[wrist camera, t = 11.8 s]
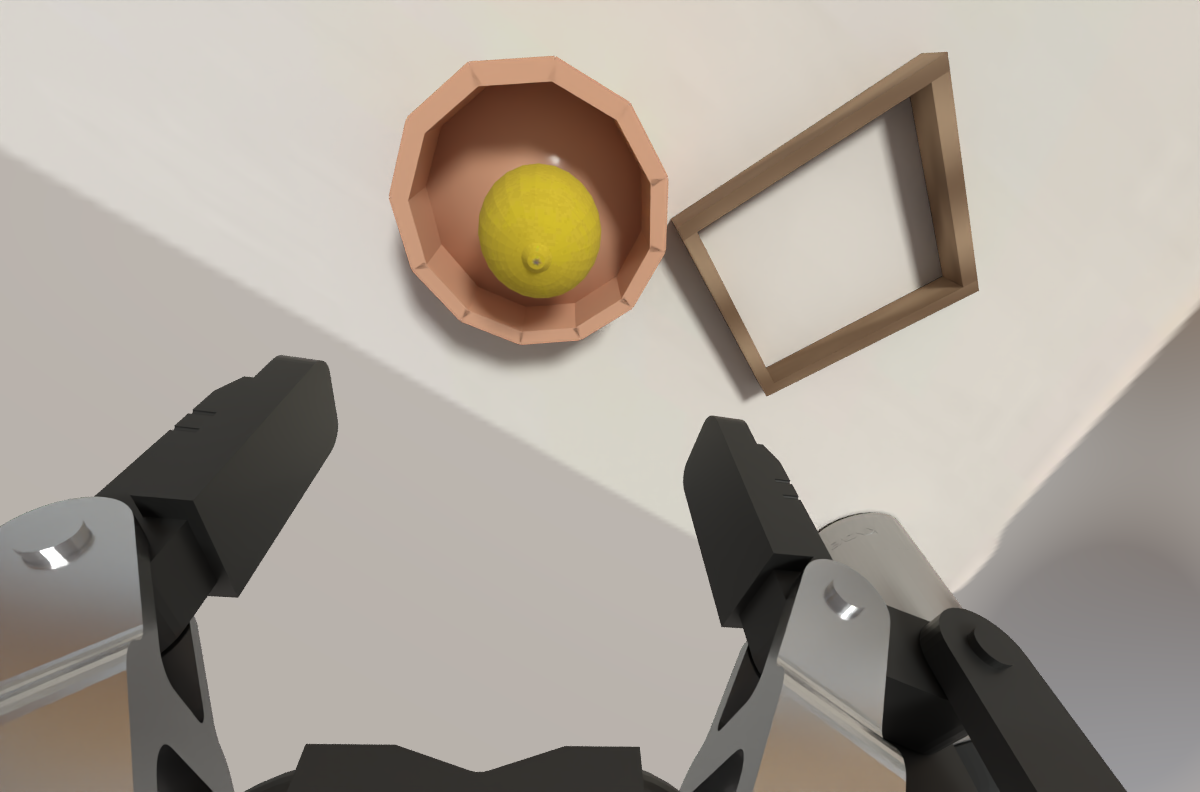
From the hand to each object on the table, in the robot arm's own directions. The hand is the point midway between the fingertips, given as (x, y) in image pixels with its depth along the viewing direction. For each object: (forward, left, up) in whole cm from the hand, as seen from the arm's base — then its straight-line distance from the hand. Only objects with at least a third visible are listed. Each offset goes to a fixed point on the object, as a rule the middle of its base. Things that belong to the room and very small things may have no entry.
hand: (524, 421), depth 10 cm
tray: (-11, -12, -18) cm, 24 cm away
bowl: (+1, 0, -18) cm, 18 cm away
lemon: (0, 0, -18) cm, 18 cm away
